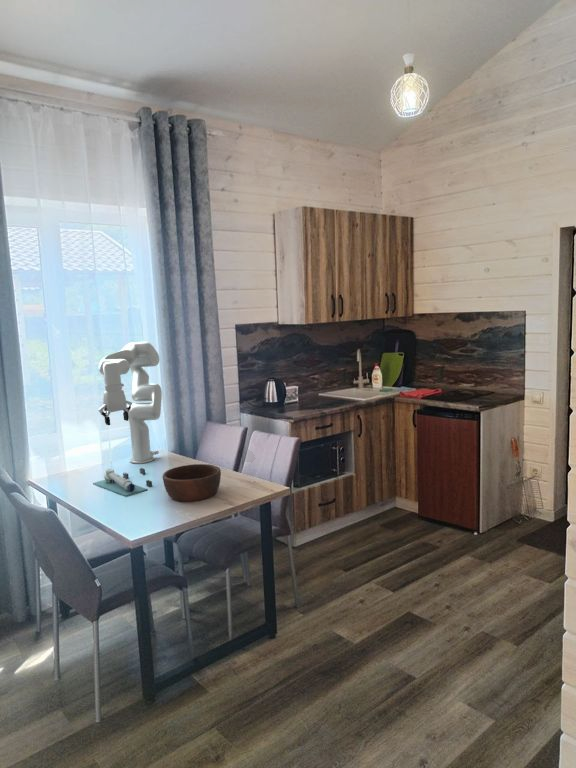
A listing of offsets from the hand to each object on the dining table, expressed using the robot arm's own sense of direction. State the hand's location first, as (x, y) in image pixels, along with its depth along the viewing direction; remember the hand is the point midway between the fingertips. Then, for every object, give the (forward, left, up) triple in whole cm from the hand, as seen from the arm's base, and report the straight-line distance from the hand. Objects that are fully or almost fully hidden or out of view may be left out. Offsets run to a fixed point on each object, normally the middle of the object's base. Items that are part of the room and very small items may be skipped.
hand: (117, 422), depth 281 cm
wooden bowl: (-7, +49, -28) cm, 57 cm away
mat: (+8, +12, -28) cm, 31 cm away
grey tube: (+8, +12, -27) cm, 31 cm away
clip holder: (-6, +12, -28) cm, 31 cm away
